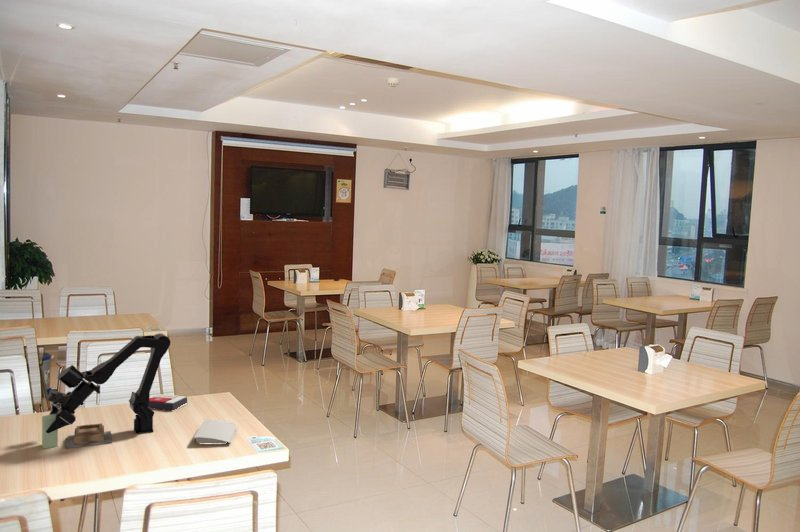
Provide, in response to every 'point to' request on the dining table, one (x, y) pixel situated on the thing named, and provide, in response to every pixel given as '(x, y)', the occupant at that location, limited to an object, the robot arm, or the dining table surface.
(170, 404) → the grey and red box
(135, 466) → the dining table surface
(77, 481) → the dining table surface
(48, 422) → the pillar
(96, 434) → the base socket
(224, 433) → the book
